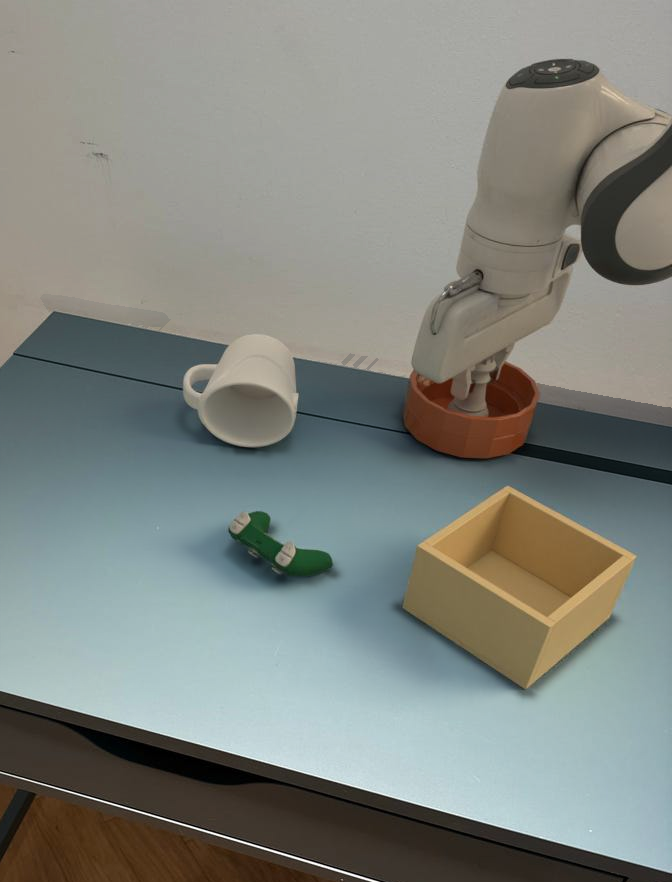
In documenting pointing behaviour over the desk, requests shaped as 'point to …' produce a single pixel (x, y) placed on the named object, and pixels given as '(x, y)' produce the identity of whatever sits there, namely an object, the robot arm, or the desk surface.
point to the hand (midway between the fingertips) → (473, 387)
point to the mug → (247, 392)
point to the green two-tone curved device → (276, 547)
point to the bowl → (472, 434)
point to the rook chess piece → (476, 391)
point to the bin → (516, 584)
